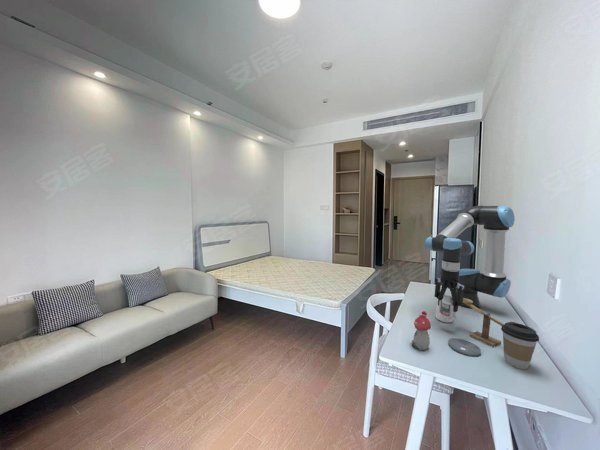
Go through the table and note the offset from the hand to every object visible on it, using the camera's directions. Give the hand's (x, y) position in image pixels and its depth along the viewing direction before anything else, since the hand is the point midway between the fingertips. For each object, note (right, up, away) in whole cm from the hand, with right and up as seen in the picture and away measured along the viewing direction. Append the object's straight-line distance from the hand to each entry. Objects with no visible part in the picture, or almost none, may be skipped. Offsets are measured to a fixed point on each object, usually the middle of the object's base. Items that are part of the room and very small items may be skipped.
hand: (446, 314), depth 121 cm
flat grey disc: (-1, -10, -14) cm, 17 cm away
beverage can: (+6, -8, +13) cm, 16 cm away
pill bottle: (0, -1, 0) cm, 1 cm away
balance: (+14, -10, -7) cm, 18 cm away
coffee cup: (+14, -11, -24) cm, 29 cm away
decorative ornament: (-20, -9, -14) cm, 26 cm away
